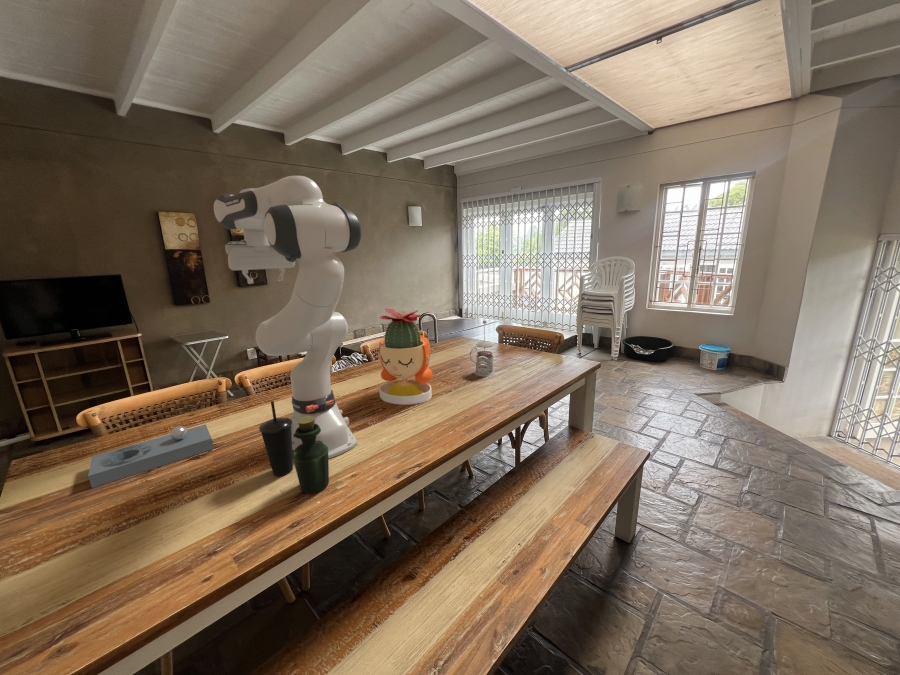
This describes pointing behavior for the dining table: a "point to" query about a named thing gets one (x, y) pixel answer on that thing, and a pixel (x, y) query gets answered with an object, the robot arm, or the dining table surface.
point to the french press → (483, 369)
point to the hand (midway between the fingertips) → (266, 282)
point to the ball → (178, 433)
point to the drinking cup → (278, 443)
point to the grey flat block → (147, 455)
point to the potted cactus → (404, 361)
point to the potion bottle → (311, 457)
